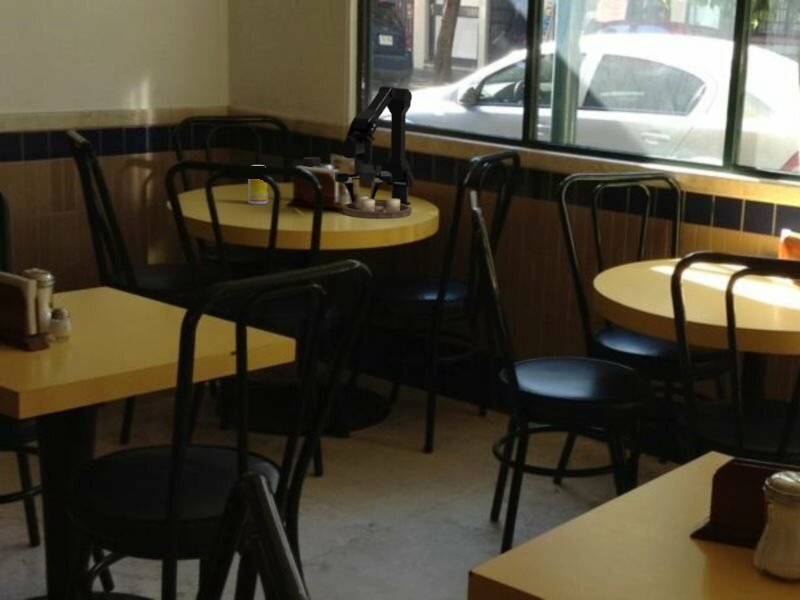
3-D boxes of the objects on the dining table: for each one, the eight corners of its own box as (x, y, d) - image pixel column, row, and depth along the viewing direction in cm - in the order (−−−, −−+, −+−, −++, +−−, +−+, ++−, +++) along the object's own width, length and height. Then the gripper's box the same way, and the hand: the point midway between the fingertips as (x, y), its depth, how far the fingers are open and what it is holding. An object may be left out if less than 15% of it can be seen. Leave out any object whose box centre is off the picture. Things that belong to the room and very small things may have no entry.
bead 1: (359, 214, 418) (360, 198, 417) (372, 214, 419) (373, 198, 418) (362, 216, 414) (363, 201, 413) (376, 216, 415) (376, 200, 414)
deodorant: (300, 200, 447) (301, 157, 444) (316, 199, 450) (317, 157, 446) (305, 203, 442) (306, 159, 439) (321, 202, 444) (322, 159, 441)
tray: (337, 210, 429) (337, 201, 429) (400, 209, 435) (401, 201, 434) (352, 221, 409) (352, 212, 408) (418, 220, 414) (419, 212, 414)
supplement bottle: (270, 204, 436) (270, 166, 433) (251, 205, 434) (251, 167, 431) (264, 201, 442) (265, 164, 439) (245, 202, 440) (246, 164, 437)
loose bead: (353, 209, 426) (354, 195, 425) (366, 209, 427) (367, 194, 426) (356, 212, 422) (357, 197, 421) (370, 212, 423) (370, 196, 422)
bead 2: (384, 213, 420) (385, 198, 419) (397, 213, 421) (398, 198, 420) (388, 216, 416) (388, 200, 415) (401, 215, 417) (401, 200, 416)
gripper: (340, 158, 410) (339, 207, 414) (397, 158, 415) (395, 206, 419) (333, 154, 421) (332, 201, 424) (388, 154, 426) (387, 201, 429)
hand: (362, 202), depth 424 cm, fingers open, 6 cm apart
